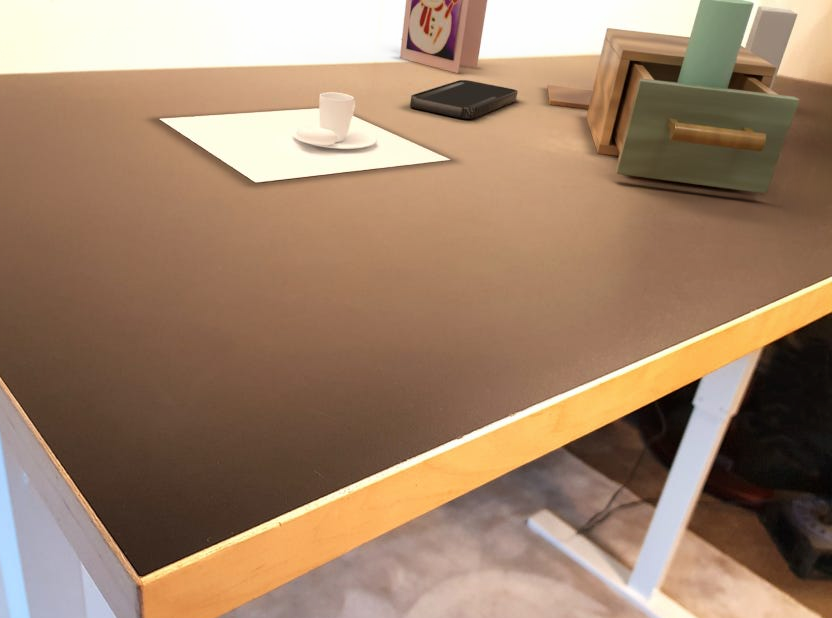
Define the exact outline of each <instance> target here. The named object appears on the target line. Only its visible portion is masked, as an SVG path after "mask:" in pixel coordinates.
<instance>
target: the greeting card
mask: <svg viewBox="0 0 832 618" xmlns="http://www.w3.org/2000/svg"><path fill="white" fill-rule="evenodd" d="M487 6H488V0H405V7H404V18H403V24H402V25H403V26H402V36H401V45H400V52H399V53H400V54H399V58H400V59H402V60H407V61H411V62H414V63H417V64H422V65H425V66H428V67H433V68H436V69H441V70H444V71H447V72H451V73H455V74H459V72H460V66H463V67H469V68H470V67H471V68H476V69H477V68H478V65H479V64H478V63H479V56H480V51H481V45H482V37H483V32H484V31H483V30H484V25H485V20H486V19H485V18H486V12H487Z"/></svg>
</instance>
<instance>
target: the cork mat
mask: <svg viewBox="0 0 832 618" xmlns="http://www.w3.org/2000/svg"><path fill="white" fill-rule="evenodd" d="M546 90H547V97H548V103H549V105H551V106H561V107H568V108H575V109H576V108H577V109H584V110H588V109H589V104H590V100H591V95H592V91H593V89H583V88H576V87H569V86H568V87H567V86H559V85H551V84H548V85H547V89H546Z"/></svg>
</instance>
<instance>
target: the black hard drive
mask: <svg viewBox="0 0 832 618" xmlns="http://www.w3.org/2000/svg"><path fill="white" fill-rule="evenodd" d="M518 92H519V91H518V90H516V89H515V88H510V87H504V86H500V85H494V84H488V83H483V82H479V81H474V80H468V79H460V80H455V81H452V82H449V83H445V84H443V85H440V86H436V87H434V88H430V89H427V90H424V91H420V92H417V93H414V94H412V95H410V102H409V103H410V104H409V106H410V107H411V108H413V109H417V110H421V111H422V110H423V111H427V112H432V113H435V114H439V115H445V116H449V117H454V118H458V119H464V120H465V119H466V120H471V119H472V120H473V119H475V118H478V117H481V116H483V115H485V114H487V113H490V112H493V111H494V110H497V109H500V108H503V107H504V106H505V107H506V106H508V105H509V104H512V103H514V102H516V101H517V98H518Z"/></svg>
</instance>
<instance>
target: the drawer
mask: <svg viewBox="0 0 832 618" xmlns="http://www.w3.org/2000/svg"><path fill="white" fill-rule="evenodd" d="M681 68H682V66H674V65H665V64H657V63H648V62H640V61H631V60H630V62H629V66H628V70H627V74H626V79H625V83H624V87H623V91H622V95H621V99H620V103H619V107H618V111H617V115H616V119H615V123H614V127H613V131H612V135H613V138H614V140H615V142H616V145H617V147H618V150H619V152H620V154H619V156H618V157H617V158H618V159H617V162H616V166H615V171H616V174H617V175H622V176H623V175H624V176H631V177H638V178H645V179H653V180H659V181H668V182H676V183H682V184H690V185H700V186H706V187H713V188H720V189H727V190H736V191H743V192H749V193H759V194H767V192H768V189H769V186H770V183H771V180H772V177H773V176H774V173H775V170H776V168H777V167H776V166H777V164H778V162H779V159H780V155H781V153H782V150H783V147H784V144H785V142H786V138H787V136H788V133H789V130H790V128H791V125H792V122H793V119H794V117H795V114H796V111H797V109H798V105H799V103H800V99H799V98H798V97H797V96H791V95H783V94H778V93H777V92H775V91H774V90H773V89H772V90H771V89H770V88H768V87H767V86H765V85H764V84H763V83H761V82H760V81H758V80H757V79H756V78H754V77H753V76H751V75H750V74H742V73H734V72H732V75H731V78H730V82H729V85H728V88H727V89H726V88H717V87H709V86H700V85H692V84H684V83H677V82H678V78H679V75H680V71H681Z"/></svg>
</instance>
